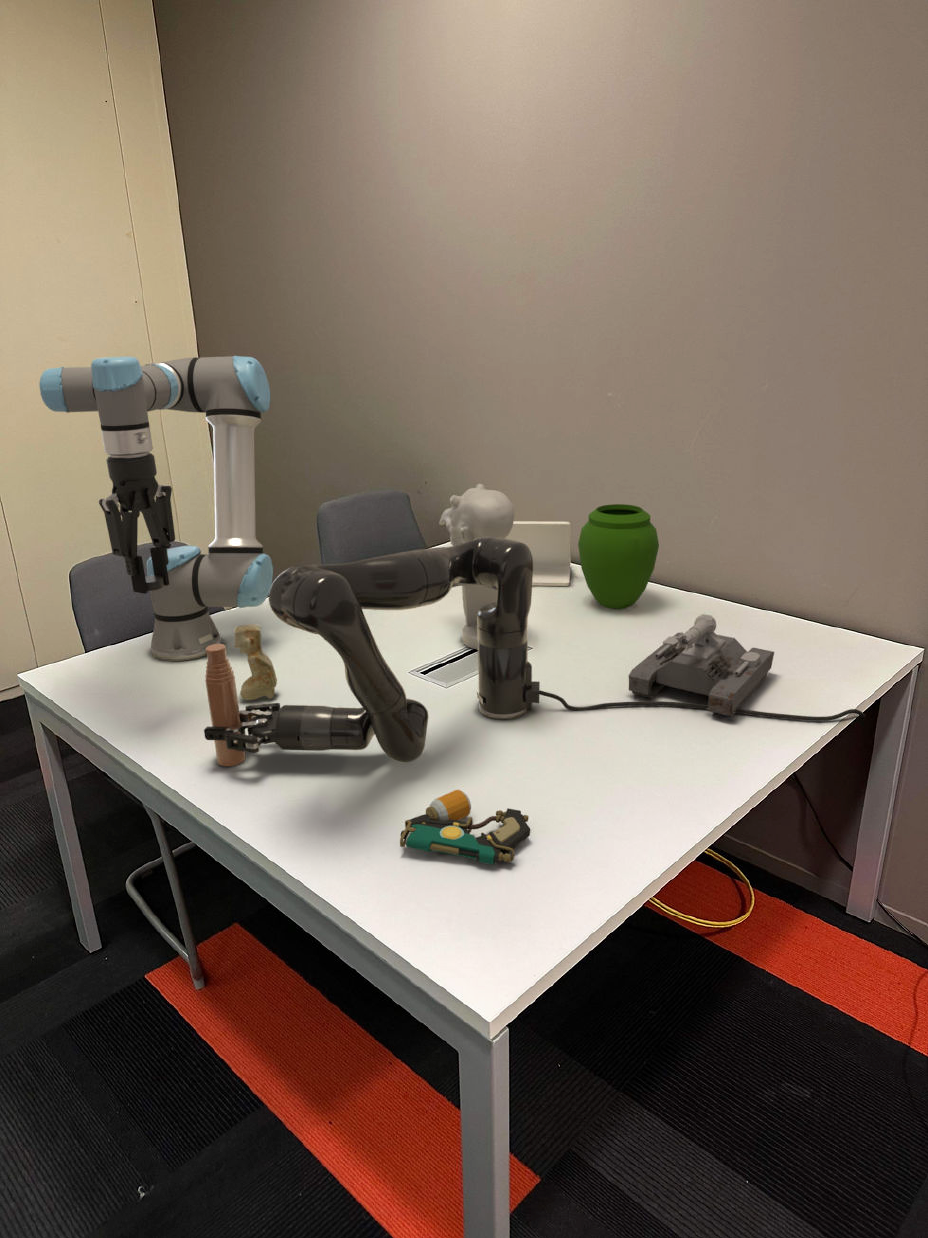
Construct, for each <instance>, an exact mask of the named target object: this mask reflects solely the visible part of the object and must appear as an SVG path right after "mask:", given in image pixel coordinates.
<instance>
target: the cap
mask: <svg viewBox="0 0 928 1238" xmlns="http://www.w3.org/2000/svg"><path fill="white" fill-rule="evenodd" d="M145 579H146V585H147V591H148V592H150V591H153V590H158V589H161V588H163V587H164V582H163V577H162V576H156V575H154V576H147V575H145Z"/></svg>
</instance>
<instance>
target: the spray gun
mask: <svg viewBox="0 0 928 1238" xmlns="http://www.w3.org/2000/svg"><path fill="white" fill-rule="evenodd" d="M471 810H472V804H471V800H470V798H469V796H468V795H467V794H466V792H464V791H463V790H460V789H454V790H453V791H450V792H447V793H445V794H444V795H442V796H439V797H437V798H434V800H432V801H431V802H430V804H429V806H428V807H426V809H425V813H424V814H420V815H418V816H415V817H413V818H410V819H406V820H404V829H403V830H401V833H400V839H399V847H400V848H404V847H405V846H406V848H410V849H414V850H419V851H422V852H423V851H424V852H428V853H430V852H431V853H432V852H437V853H441V854H447V855H453V856H456V857H462V858H463V857H464V858H468V859H473V860H475V861H476V862H479V863H482V864H488V865H492V866H495V865H496V864H499V862H501V861H503V862H505V863H511V862H513V861H514V860H515V850H514V849H515V848H516V847H517V846H519V845H520V844H522V843H523V841H525V840H526V839H527V838H529V837H530V836H531V828H530V826H529V825H528V822H529V818H530V817H529V815H527V814H523V813H522V811H521V810H519V809H514V808H506V811H503V810H496V811H495V815H490V816H488V817H487V818H486V819H485V820H483V821H481V822H479V823H476V824H473V821H474V820H473V817H472V816H469V815H470V814H471V812H472V811H471ZM467 817H468V818H467ZM465 818H467V821H464V820H463V821H462V819H465ZM491 822H495V823H501V824H502V826H501V827H499V828H498V829H496V830H495V831H494V832H493V831H489V833H488V835H486V833H484V832H481V833H480V836H476V837H475V835H474V834H471V832H472V830H479V829H481V828H484V827H486V826H488V825H489V824H490V823H491ZM510 852H511V853H510Z"/></svg>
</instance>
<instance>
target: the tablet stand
mask: <svg viewBox="0 0 928 1238" xmlns="http://www.w3.org/2000/svg"><path fill="white" fill-rule="evenodd" d="M505 539H508V540H513V541H518V542H521V543H524V544H526V545H527V546H528V548H529V549H530V551H531V554H532V559H533V578H532V586H541V587H542V586H543V587H544V586H545V587H546V586H547V587H549V586H551V587H556V586H557V587H569V586H570V580H571V579H570V578H571V565H572V564H571V560H572V558H571V522H569V521H537V520H536V521H529V520H528V521H525V520H524V521H523V520H522V521H521V520H520V521H519V520H517V521H516V520H514V521H513V526H512V529H511V531H510V533H509V535H508V536H507V537H506V538H505Z"/></svg>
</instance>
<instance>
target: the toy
mask: <svg viewBox="0 0 928 1238" xmlns="http://www.w3.org/2000/svg"><path fill="white" fill-rule="evenodd" d="M716 629H717V620H716V619H715V617H713V615H711V614H710V615H709V614H704V613H702V614H701V615H699V616H698V617H696V618H695V620H694V624H693V626H691V627H690V628H689V629H688V630H687V631H685V632H683V631H681V632H677V633H675V634H674V635H673V636H667V638H665V639H664V640H663V641H662V645H660V646H659V647H658V648H657V649H655V650H654V651H653V652H652V653H650V654H649V655H648V656H647V657H645V658H644V659H643V660H641V662H639V663H638V664H637V665H635V667H634V668H632V669H631V671H630V672H629V674H628V691H630V692H631V693H632V694H634V695H637V696H642V697H645V698H649V699H652V698H653V697H654V696H655V695H657V693H658V692H660V691H661V690H662V689H663V688H665V686H666V687H669V688H673V689H678V690H682V691H686V692H691V693H694V694H699V695H704V696H708V703H707V705H708V709H707V711H710V712H711V713H714V714H720V715H723V716H727V717H733V715H734V714H735V712H736V709H740V707H742V705H743V704H744V703H745V702H746V700H748V698H749V697H750V696H751V695H752V694H753V693H754V691H755V690H756V689H758V687H759V686H760V685H761V684H762V683H763V681H764V680H765V679H766V678H767V677H768V674H769V672H770V670H771V669H772V666H773V660H774V656H775V651H774V650H768V649H763V648H758V647H751V648H750V649H749V650H748V651H747V650H746V648H745V647H743V645H742V644H741V643H740V642H739V641H738V640H737V639H736V638H735V637H732V636H726V635H722V634H717V633H716V632H715V631H716Z"/></svg>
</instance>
